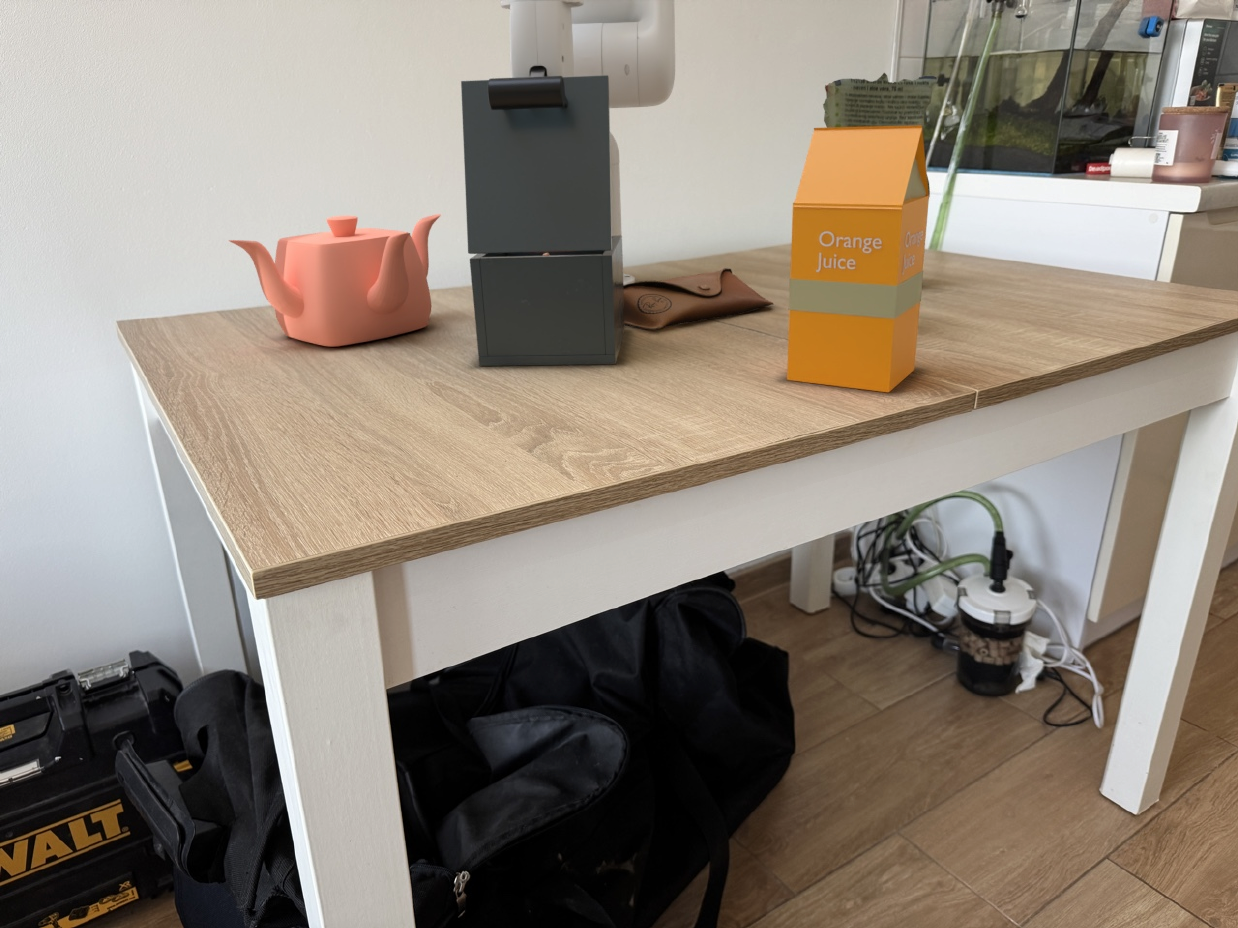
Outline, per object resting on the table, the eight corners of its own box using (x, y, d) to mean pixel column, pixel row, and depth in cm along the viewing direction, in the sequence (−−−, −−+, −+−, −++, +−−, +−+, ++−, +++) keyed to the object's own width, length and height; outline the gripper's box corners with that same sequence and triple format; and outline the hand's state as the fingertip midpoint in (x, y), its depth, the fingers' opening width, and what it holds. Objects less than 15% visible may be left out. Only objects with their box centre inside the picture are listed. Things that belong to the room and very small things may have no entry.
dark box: (506, 332, 98) (498, 238, 94) (624, 330, 97) (622, 235, 93) (479, 366, 85) (469, 258, 82) (615, 364, 84) (611, 255, 81)
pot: (419, 351, 92) (405, 224, 87) (247, 355, 92) (224, 229, 87) (450, 313, 109) (440, 205, 104) (306, 317, 109) (289, 209, 105)
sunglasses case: (659, 328, 95) (637, 269, 95) (624, 351, 101) (604, 295, 101) (779, 303, 105) (759, 250, 105) (741, 326, 111) (722, 275, 111)
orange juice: (889, 393, 73) (909, 127, 66) (785, 380, 77) (793, 129, 70) (915, 369, 79) (936, 124, 72) (818, 358, 84) (829, 126, 76)
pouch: (809, 290, 114) (819, 74, 105) (845, 275, 123) (857, 75, 114) (897, 298, 108) (915, 69, 99) (928, 281, 117) (947, 70, 108)
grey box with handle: (463, 83, 80) (445, 63, 74) (609, 77, 79) (602, 57, 73) (470, 254, 82) (453, 248, 76) (612, 250, 81) (606, 244, 75)
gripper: (516, 0, 91) (528, 179, 97) (480, -21, 75) (497, 194, 81) (591, -3, 90) (598, 177, 97) (571, -26, 74) (581, 192, 81)
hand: (552, 185), depth 89 cm, fingers open, 9 cm apart
